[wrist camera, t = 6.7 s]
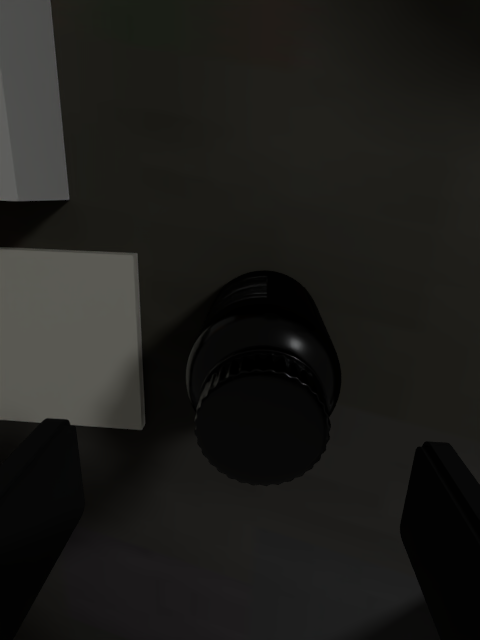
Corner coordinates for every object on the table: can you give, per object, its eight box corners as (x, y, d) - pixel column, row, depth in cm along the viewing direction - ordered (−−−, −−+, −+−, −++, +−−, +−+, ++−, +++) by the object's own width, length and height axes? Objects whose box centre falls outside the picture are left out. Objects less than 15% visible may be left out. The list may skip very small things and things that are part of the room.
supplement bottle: (204, 361, 26) (152, 490, 15) (218, 259, 24) (170, 319, 13) (306, 379, 26) (334, 525, 15) (330, 279, 24) (385, 357, 12)
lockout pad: (145, 423, 28) (141, 430, 27) (-18, 411, 29) (-25, 417, 28) (137, 253, 24) (133, 255, 23) (-49, 244, 25) (-59, 246, 24)
